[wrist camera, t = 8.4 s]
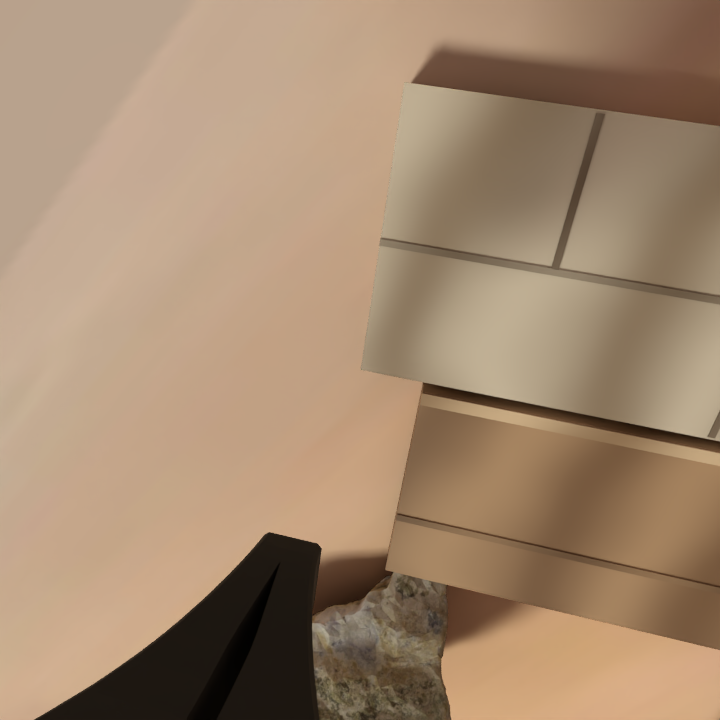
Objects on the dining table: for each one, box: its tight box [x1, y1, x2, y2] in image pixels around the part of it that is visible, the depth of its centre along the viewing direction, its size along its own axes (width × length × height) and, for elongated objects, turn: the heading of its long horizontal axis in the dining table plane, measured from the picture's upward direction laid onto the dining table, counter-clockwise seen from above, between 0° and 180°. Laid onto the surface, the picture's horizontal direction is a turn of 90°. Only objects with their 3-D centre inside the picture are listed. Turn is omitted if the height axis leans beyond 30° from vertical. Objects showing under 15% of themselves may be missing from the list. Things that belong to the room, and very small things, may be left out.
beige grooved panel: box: [361, 82, 720, 441], centre depth 18 cm, size 20×10×2 cm, turn 82°
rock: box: [312, 572, 451, 720], centre depth 25 cm, size 11×6×10 cm
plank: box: [385, 382, 720, 650], centre depth 22 cm, size 15×9×2 cm, turn 82°
